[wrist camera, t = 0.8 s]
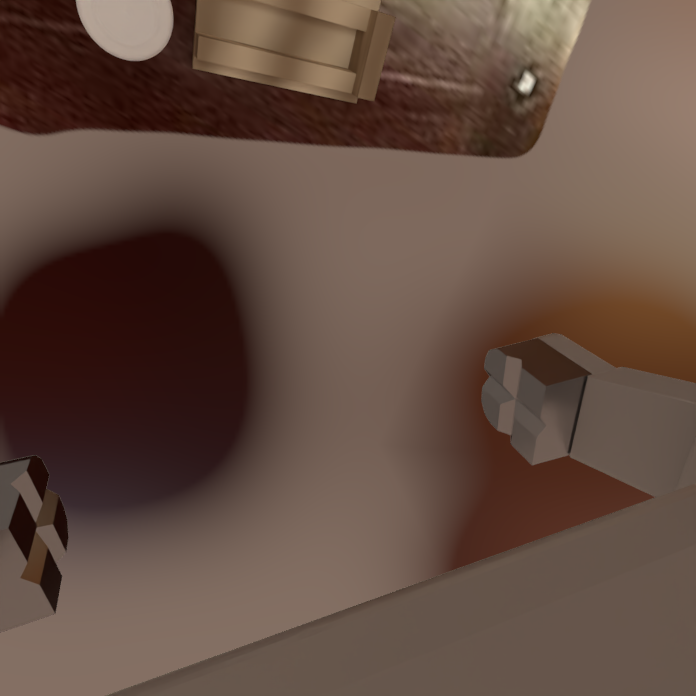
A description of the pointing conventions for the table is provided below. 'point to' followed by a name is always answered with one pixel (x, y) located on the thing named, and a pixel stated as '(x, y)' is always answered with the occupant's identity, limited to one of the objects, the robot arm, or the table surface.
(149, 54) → the sprinkles bottle
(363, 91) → the u rest
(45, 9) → the table surface
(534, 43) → the table surface
